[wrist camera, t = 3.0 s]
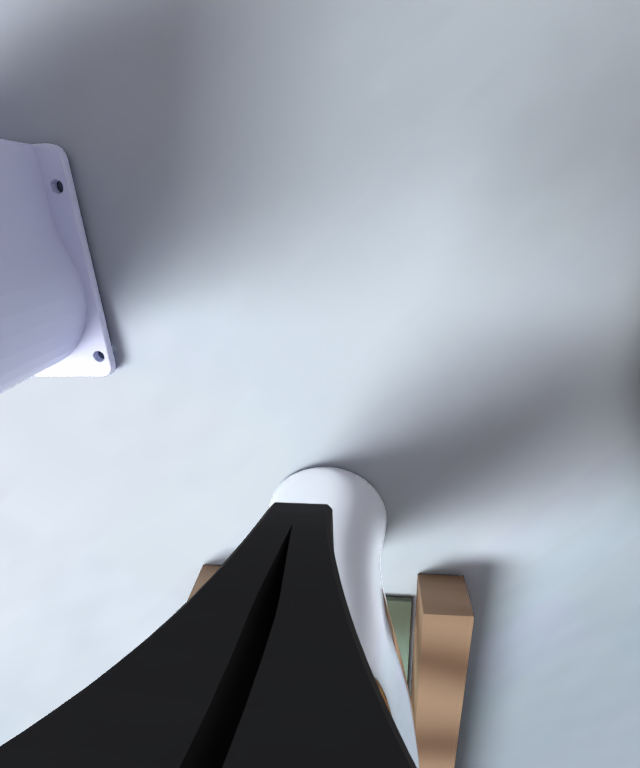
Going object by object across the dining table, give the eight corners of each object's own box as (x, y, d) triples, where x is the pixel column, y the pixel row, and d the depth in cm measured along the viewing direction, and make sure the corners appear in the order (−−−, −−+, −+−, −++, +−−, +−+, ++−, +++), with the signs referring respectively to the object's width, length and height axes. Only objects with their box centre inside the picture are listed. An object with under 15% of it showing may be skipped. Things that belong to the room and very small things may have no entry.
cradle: (203, 564, 25) (175, 627, 21) (463, 575, 23) (481, 645, 20) (242, 777, 33) (227, 850, 29) (438, 796, 31) (448, 874, 28)
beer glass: (234, 510, 23) (44, 961, 9) (326, 431, 21) (253, 881, 7) (327, 585, 25) (280, 1073, 11) (423, 520, 22) (518, 1036, 9)
